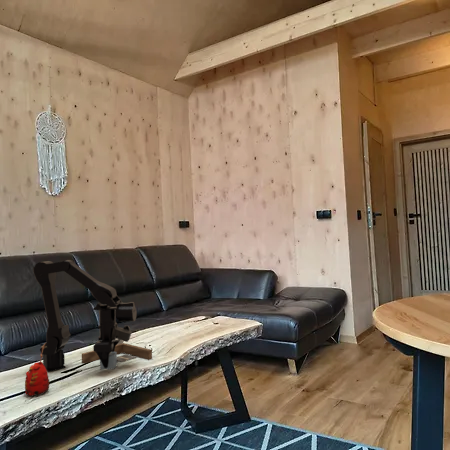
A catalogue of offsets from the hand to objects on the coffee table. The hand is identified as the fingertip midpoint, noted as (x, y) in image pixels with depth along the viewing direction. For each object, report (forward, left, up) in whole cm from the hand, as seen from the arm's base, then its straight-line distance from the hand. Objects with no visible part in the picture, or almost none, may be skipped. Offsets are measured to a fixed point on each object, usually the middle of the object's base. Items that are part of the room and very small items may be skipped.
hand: (108, 364), depth 153 cm
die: (+19, +24, -1) cm, 31 cm away
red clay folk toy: (-28, -4, -1) cm, 28 cm away
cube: (0, 0, -1) cm, 1 cm away
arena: (+7, +4, -1) cm, 8 cm away
